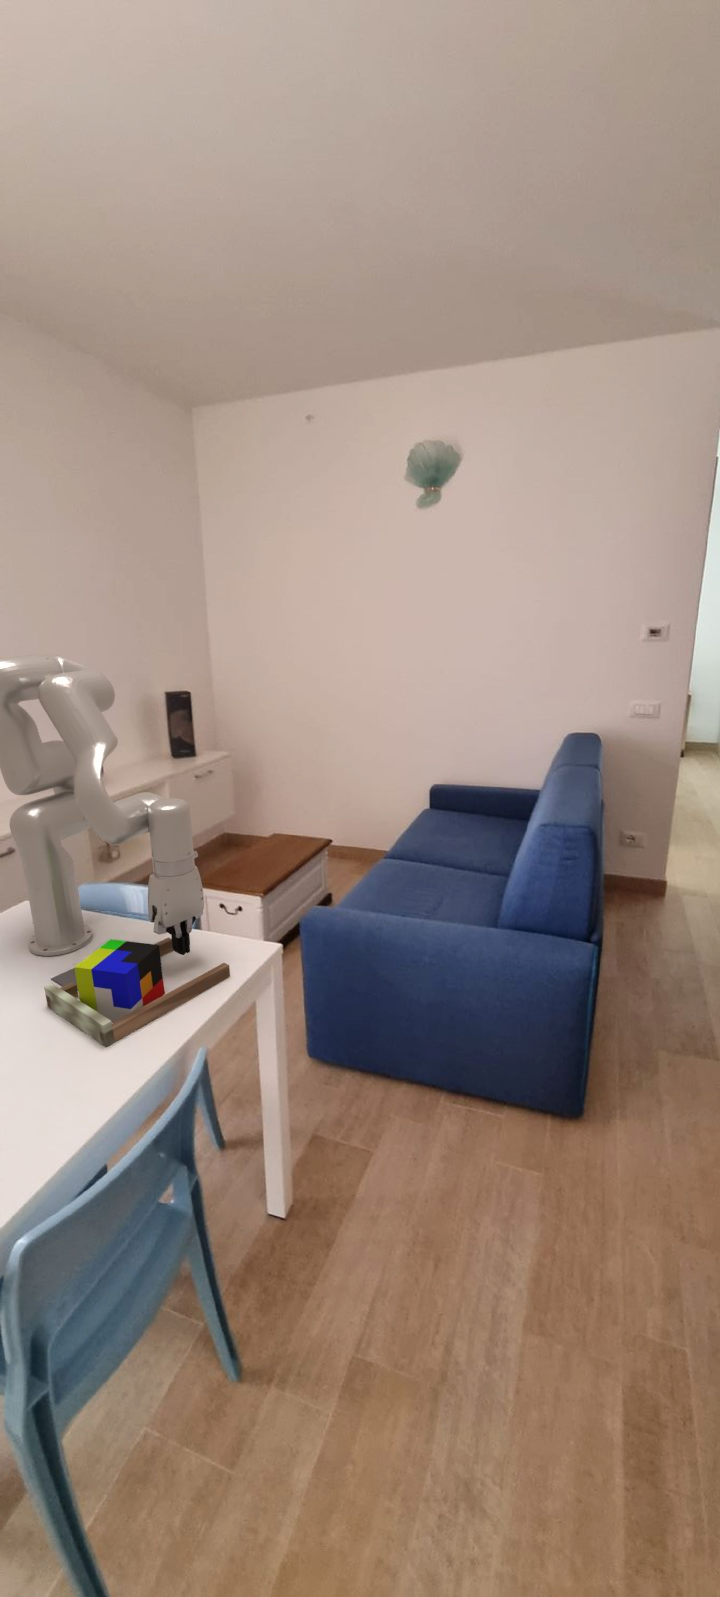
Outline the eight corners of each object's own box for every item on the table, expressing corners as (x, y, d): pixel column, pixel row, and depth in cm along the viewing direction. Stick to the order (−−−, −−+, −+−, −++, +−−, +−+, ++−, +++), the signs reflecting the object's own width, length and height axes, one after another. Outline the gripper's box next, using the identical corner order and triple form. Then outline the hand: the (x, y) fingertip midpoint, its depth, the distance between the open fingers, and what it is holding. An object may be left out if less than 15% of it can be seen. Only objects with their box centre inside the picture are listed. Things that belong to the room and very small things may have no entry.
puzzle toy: (133, 1026, 109) (125, 973, 106) (82, 1018, 112) (74, 967, 109) (164, 993, 118) (159, 944, 116) (117, 987, 121) (110, 939, 118)
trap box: (47, 1006, 115) (44, 987, 114) (169, 948, 135) (167, 930, 134) (106, 1047, 104) (102, 1025, 103) (230, 976, 123) (228, 957, 122)
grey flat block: (51, 979, 124) (51, 978, 124) (80, 966, 129) (80, 965, 128) (72, 993, 119) (72, 991, 119) (102, 978, 124) (102, 977, 124)
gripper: (193, 848, 129) (200, 931, 134) (126, 871, 117) (137, 961, 123) (218, 857, 124) (224, 942, 129) (151, 882, 113) (161, 974, 118)
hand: (181, 951), depth 126 cm, fingers closed
